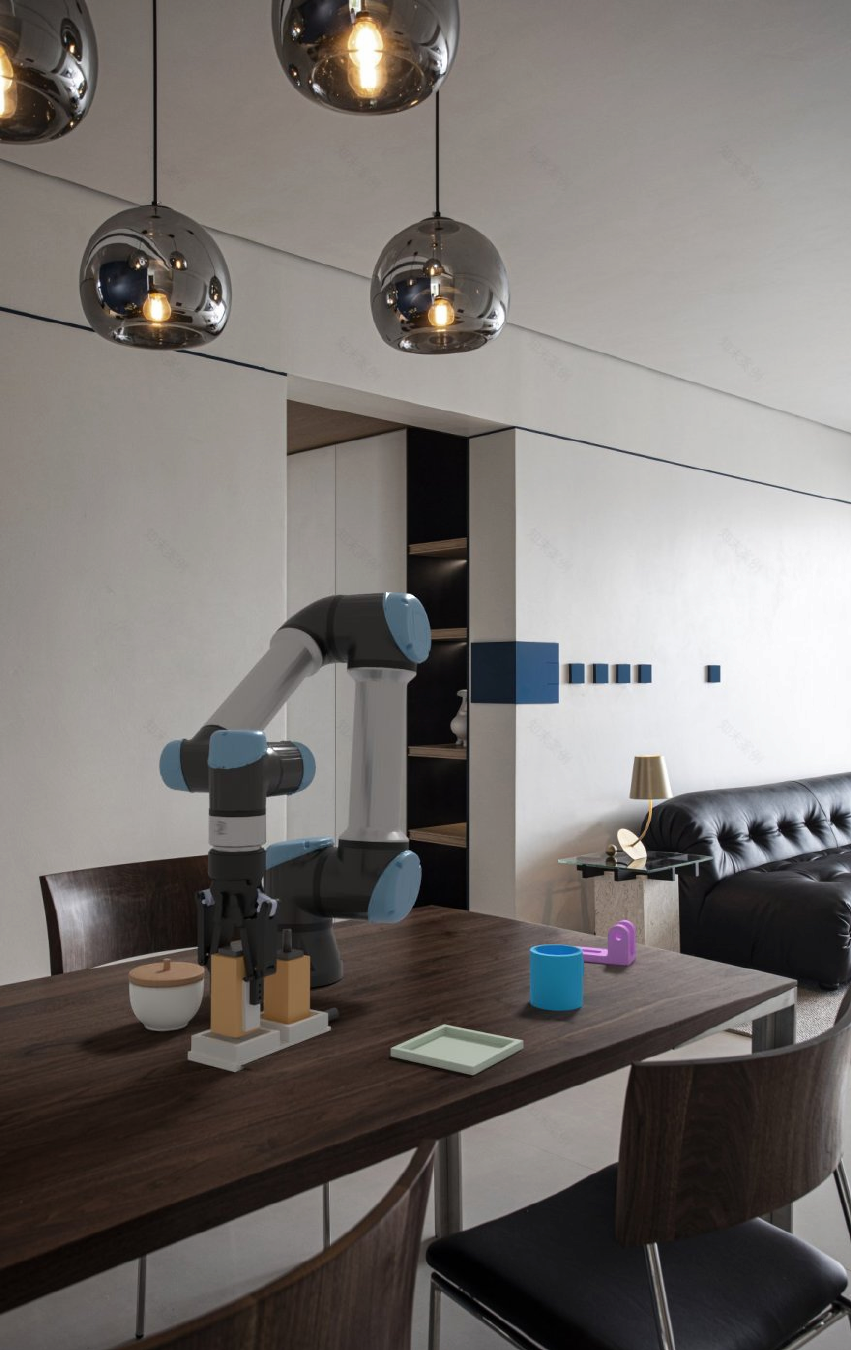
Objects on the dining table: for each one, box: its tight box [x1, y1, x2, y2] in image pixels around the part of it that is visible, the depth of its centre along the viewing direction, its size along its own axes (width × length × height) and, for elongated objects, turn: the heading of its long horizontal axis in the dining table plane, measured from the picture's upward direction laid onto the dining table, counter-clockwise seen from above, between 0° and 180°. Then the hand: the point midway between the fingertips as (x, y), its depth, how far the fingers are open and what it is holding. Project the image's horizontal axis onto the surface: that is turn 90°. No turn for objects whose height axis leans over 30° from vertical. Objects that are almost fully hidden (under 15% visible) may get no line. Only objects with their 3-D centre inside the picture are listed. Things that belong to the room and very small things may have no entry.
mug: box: [529, 943, 585, 1012], centre depth 171 cm, size 12×8×8 cm
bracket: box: [573, 919, 637, 967], centre depth 199 cm, size 13×6×7 cm, turn 66°
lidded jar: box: [127, 958, 206, 1032], centre depth 158 cm, size 11×11×9 cm
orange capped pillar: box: [210, 943, 260, 1038], centre depth 144 cm, size 4×4×11 cm
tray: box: [390, 1023, 524, 1076], centre depth 144 cm, size 13×13×2 cm
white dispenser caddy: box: [187, 929, 340, 1073], centre depth 151 cm, size 25×8×15 cm, turn 146°
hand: (236, 1024), depth 144 cm, fingers closed on orange capped pillar, 4 cm apart
